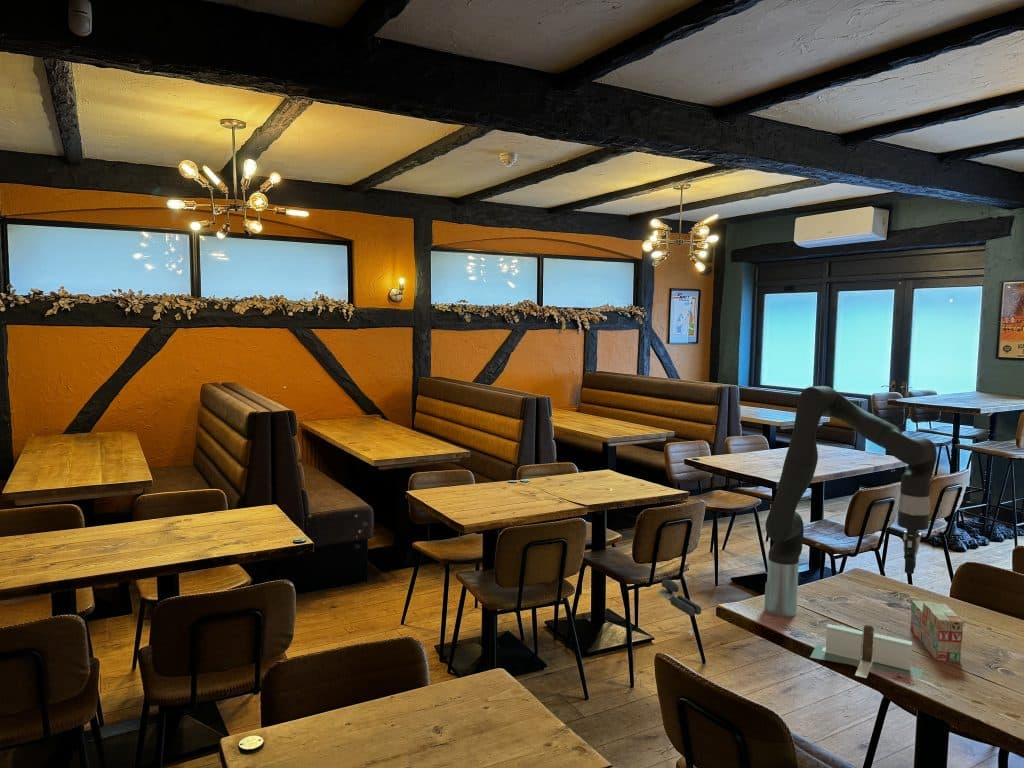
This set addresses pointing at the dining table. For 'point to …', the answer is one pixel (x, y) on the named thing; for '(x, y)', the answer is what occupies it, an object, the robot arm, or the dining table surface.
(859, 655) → the panel
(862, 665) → the board
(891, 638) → the panel
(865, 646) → the brown rounded rod
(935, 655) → the stack of blocks
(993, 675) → the dining table surface
